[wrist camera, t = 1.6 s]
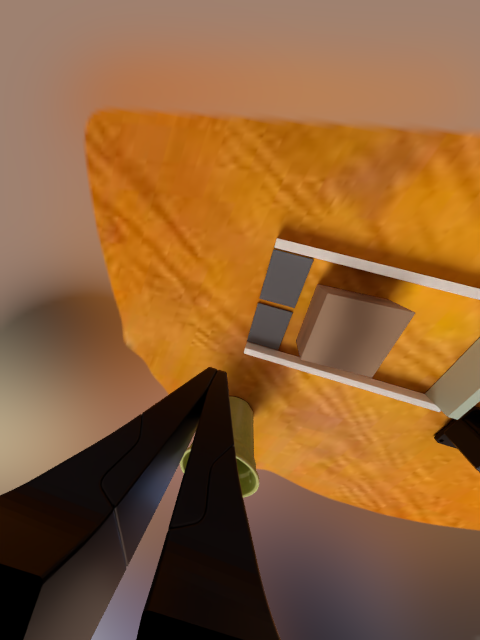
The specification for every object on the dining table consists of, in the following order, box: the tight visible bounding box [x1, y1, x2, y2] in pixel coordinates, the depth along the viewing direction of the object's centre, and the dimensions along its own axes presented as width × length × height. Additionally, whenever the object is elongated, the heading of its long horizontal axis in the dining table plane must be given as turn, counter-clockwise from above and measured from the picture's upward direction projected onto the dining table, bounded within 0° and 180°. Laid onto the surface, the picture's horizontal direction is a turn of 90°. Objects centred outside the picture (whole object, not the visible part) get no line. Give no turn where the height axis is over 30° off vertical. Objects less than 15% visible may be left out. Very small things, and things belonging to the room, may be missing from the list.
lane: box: [244, 238, 480, 420], centre depth 18 cm, size 23×13×3 cm, turn 77°
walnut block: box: [296, 284, 415, 378], centre depth 18 cm, size 7×7×4 cm
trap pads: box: [247, 250, 313, 350], centre depth 20 cm, size 4×11×1 cm, turn 167°
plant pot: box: [180, 396, 259, 497], centre depth 24 cm, size 9×9×9 cm
